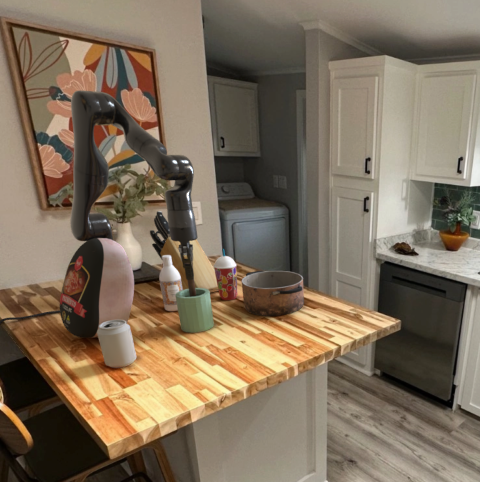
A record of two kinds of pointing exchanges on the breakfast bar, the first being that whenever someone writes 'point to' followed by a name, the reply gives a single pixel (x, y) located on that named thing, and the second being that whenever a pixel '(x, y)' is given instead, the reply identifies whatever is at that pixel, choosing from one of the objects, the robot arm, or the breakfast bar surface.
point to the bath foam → (169, 283)
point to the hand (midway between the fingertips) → (190, 277)
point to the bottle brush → (191, 287)
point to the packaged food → (96, 287)
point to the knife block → (201, 263)
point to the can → (116, 343)
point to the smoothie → (226, 277)
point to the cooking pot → (272, 292)
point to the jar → (195, 310)
